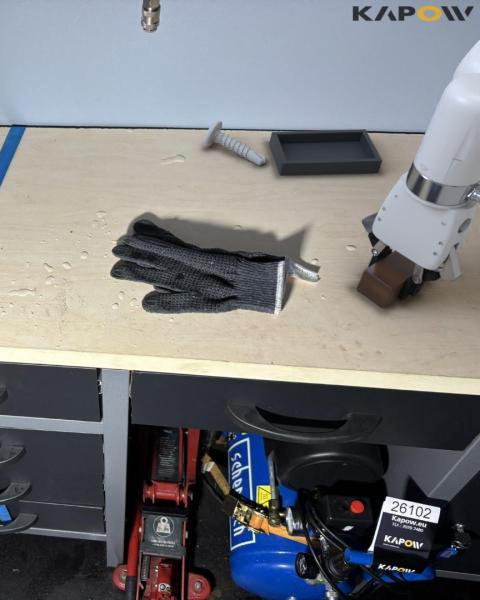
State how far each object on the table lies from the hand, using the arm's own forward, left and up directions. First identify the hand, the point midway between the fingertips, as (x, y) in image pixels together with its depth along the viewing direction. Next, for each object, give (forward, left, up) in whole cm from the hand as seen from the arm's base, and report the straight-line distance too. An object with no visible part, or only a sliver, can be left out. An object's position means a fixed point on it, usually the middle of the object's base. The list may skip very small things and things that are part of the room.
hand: (390, 283), depth 86 cm
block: (0, 0, 0) cm, 0 cm away
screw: (+17, -33, -1) cm, 37 cm away
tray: (+2, -31, 0) cm, 31 cm away
